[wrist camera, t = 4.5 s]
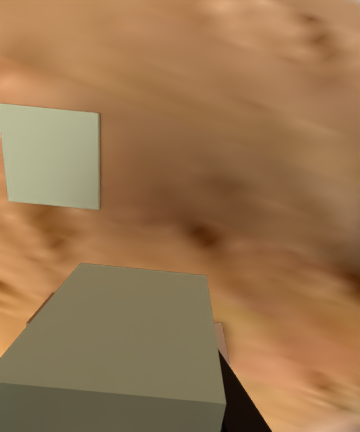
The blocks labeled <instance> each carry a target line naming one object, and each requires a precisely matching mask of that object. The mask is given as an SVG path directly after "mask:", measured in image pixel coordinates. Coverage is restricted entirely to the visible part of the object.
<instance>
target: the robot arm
mask: <svg viewBox="0 0 360 432" xmlns="http://www.w3.org/2000/svg"><path fill="white" fill-rule="evenodd" d="M218 353H219V360H220V367H221V373H222V380H223V386H224V393H225V399H226V407H225V412H224V417H223V421H222V426H221V431H220V432H272V431H271V429H270V428H269V426H268V425H267V423H266V422H265V420H264V418H263V417H262V415H261V414H260V412H259V411H258V409H257V408H256V406H255V405H254V403H253V402H252V400H251V398H250V397H249V395H248V394H247V392H246V391H245V389H244V388H243V386H242V385H241V383H240V381H239V380H238V378H237V377H236V375H235V374H234V372H233V371H232V369H231V368H230V366H229V365H228V363H227V361H226V360H225V358H224V357H223V355H222V354H221V352H220V351H219V349H218Z"/></svg>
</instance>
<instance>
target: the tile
mask: <svg viewBox="0 0 360 432" xmlns="http://www.w3.org/2000/svg"><path fill="white" fill-rule="evenodd" d="M0 133H1V141H2V150H3V159H4V167H5V176H6V185H7V193H8V201H12V202H23V203H33V204H43V205H54V206H64V207H74V208H84V209H95V210H99V209H100V114H99V113H92V112H82V111H72V110H62V109H52V108H42V107H32V106H21V105H11V104H1V103H0Z"/></svg>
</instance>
